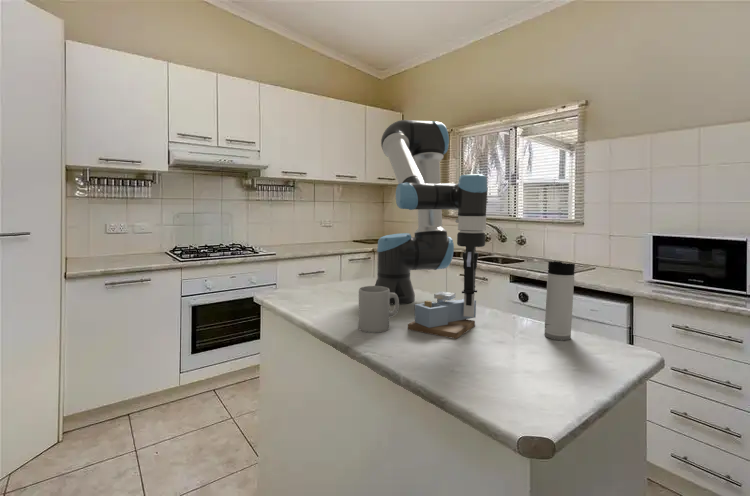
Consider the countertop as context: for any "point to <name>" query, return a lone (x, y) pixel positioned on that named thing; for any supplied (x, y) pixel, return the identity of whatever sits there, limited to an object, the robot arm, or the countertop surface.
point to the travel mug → (559, 300)
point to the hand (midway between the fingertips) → (468, 315)
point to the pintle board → (444, 327)
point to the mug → (375, 308)
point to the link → (441, 313)
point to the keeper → (444, 296)
